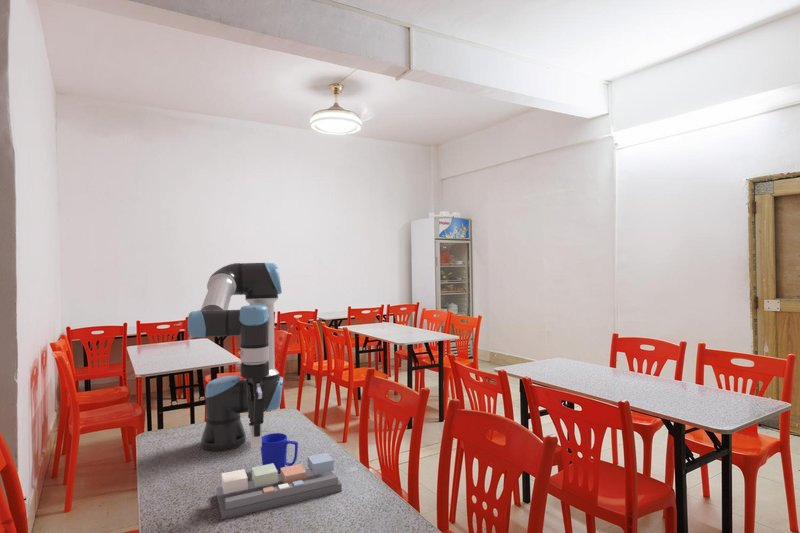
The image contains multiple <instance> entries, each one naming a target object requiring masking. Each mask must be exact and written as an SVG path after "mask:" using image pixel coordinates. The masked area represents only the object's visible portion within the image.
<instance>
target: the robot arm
mask: <svg viewBox="0 0 800 533" xmlns="http://www.w3.org/2000/svg"><path fill="white" fill-rule="evenodd" d="M281 284H282V283H281V277H280V272H279V266H278V264H276V263H274V262H246V263H245V262H244V263H243V262H242V263H240V262H239V263H238V262H235V263H229V264H227V265H225V266H222V267H221V268H219V269H217V270H216V271H215V272H214V273H212V274H211V275H210V276H209V279H208V281H207V284H206V288H207V292H206V295H205V298H204V300H203V303H202V306H201V308H200V310H196V311H191V312H189V313H188V316H187V332H188V333H187V334H188V335H189V336H190V337H192V338H211V337H213V338H214V337H229V336H230V337H234V336H237V337H238V336H239V337H240V338H239V340H240V343H239V344H240V346H239V347H240V350H238V352H237V354H238V355H240V362H241V364H240V376H239V375H232V374H231V375H225V376H220V377H217V378H215V379H212V380H211V381H209V382H208V383H207V384H206V386H205V395H204V398H205V426H204V429H203V431H202V436H201V440H200V447H201V449H203V450H204V451H209V452H222V451H228V450H233V449H236V448H238V447H240V446H243V445H244V444H245V443H246V441H247V438H246V437H247V436H246V435H247V434H246V431H245V428H244V426H243V423H242V421H241V414H244V413H247V414H248V415H247V417H248V419H249V422H248V425H249V427H250V429H249V430H250V431H249V432H250V437H249V438H250V449H257V448H261V447H262V437H263V436H262V425H263V424H264V415H265V414H264V412H270V411H275V410H278V409H279V408H280V406H281V402H282V401H281V400H282V395H283V393H282V392H283V385H284V384H283V383H284V377H283V376H280V372H279V371H278V370H277V369H276V366H275V363H276V362H275V361H276V360H275V303H276V302H277V301H278V299H279V295H281V294H282V291H283V290H282V285H281ZM239 295H240V296H243V295H245V297H244V298H245V301H246V302H247V303H248V304H249V305H243V306H241V307H240V308H239V309H229V307H230V302H231V297H233V296H239ZM241 378H242V379H241Z"/></svg>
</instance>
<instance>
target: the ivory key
mask: <svg viewBox="0 0 800 533" xmlns="http://www.w3.org/2000/svg"><path fill="white" fill-rule="evenodd" d="M220 475H221V487H222V488H223V492H224V494H227V493H231V492H236V491H240V490H245V489H248V481H249V480H248V479H249V478H248V475H247V472H246V470H245V469H244V468H243V469H238V470H234V471H233V470H232V471H227V472H222V473H221V474H220Z"/></svg>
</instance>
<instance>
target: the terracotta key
mask: <svg viewBox="0 0 800 533" xmlns="http://www.w3.org/2000/svg"><path fill="white" fill-rule="evenodd" d="M280 470H281V471H280V475H281V480H282V482H283V484H286V483H288V484H291V483H293V482H295V481H299V480H302V481H305V480H307V474H306V470H305V468H304V466H303V464H302V463H297V464H293V465H292V466H287V465H286V466H285V467H283V468H280Z"/></svg>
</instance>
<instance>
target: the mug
mask: <svg viewBox="0 0 800 533" xmlns="http://www.w3.org/2000/svg"><path fill="white" fill-rule="evenodd" d="M290 444H291V445H294V456H293V460H292V462H288V461H287V453H288V452H287V449H288V445H290ZM298 451H299V442H298V441H295V440H288V436H287V434H285V433H281V432H273V433H269V434H265V435H263V436H262V447H260V453H261V466H262V465H267V464H272V463H273V464H274V465H275V467H276V469H277V471H278V473H280V472H281V470H280V468H283V467H287V466H292V465H295V463H296V461H297V458H298Z"/></svg>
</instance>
